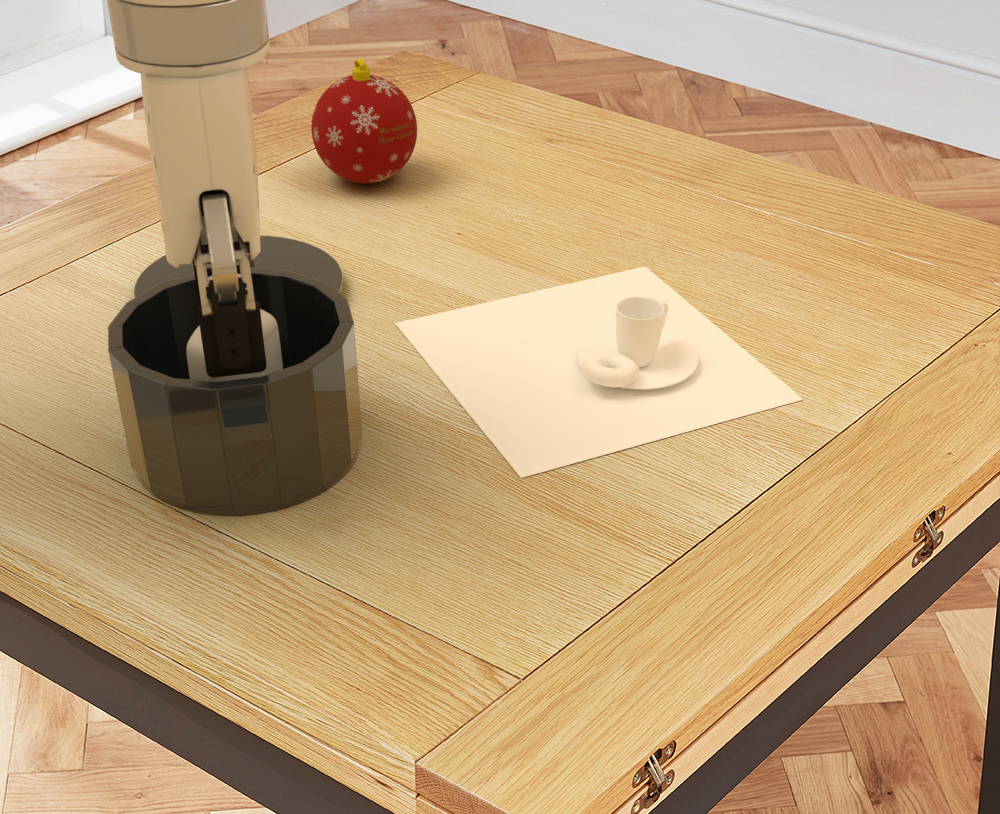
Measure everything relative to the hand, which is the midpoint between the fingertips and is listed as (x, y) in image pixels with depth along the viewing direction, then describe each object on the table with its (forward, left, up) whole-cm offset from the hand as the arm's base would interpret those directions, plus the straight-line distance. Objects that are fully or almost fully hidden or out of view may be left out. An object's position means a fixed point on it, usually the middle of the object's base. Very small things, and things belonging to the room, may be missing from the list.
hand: (230, 328), depth 77 cm
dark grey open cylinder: (0, 0, -8) cm, 8 cm away
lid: (+1, +19, -8) cm, 20 cm away
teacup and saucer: (+23, +5, -8) cm, 25 cm away
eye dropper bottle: (0, 0, -8) cm, 8 cm away
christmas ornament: (+13, +37, -8) cm, 40 cm away
